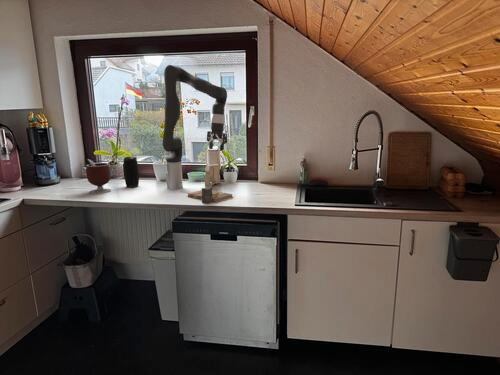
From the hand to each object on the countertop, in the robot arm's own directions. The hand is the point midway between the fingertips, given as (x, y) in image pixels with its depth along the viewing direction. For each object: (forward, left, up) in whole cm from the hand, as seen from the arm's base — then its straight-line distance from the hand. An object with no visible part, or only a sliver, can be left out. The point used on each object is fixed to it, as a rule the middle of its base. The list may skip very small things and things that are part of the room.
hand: (216, 149), depth 212 cm
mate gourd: (-62, -41, -26) cm, 79 cm away
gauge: (+12, -18, -26) cm, 34 cm away
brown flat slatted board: (+5, -11, -26) cm, 29 cm away
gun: (-16, +13, -26) cm, 33 cm away
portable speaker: (-58, -20, -26) cm, 67 cm away
